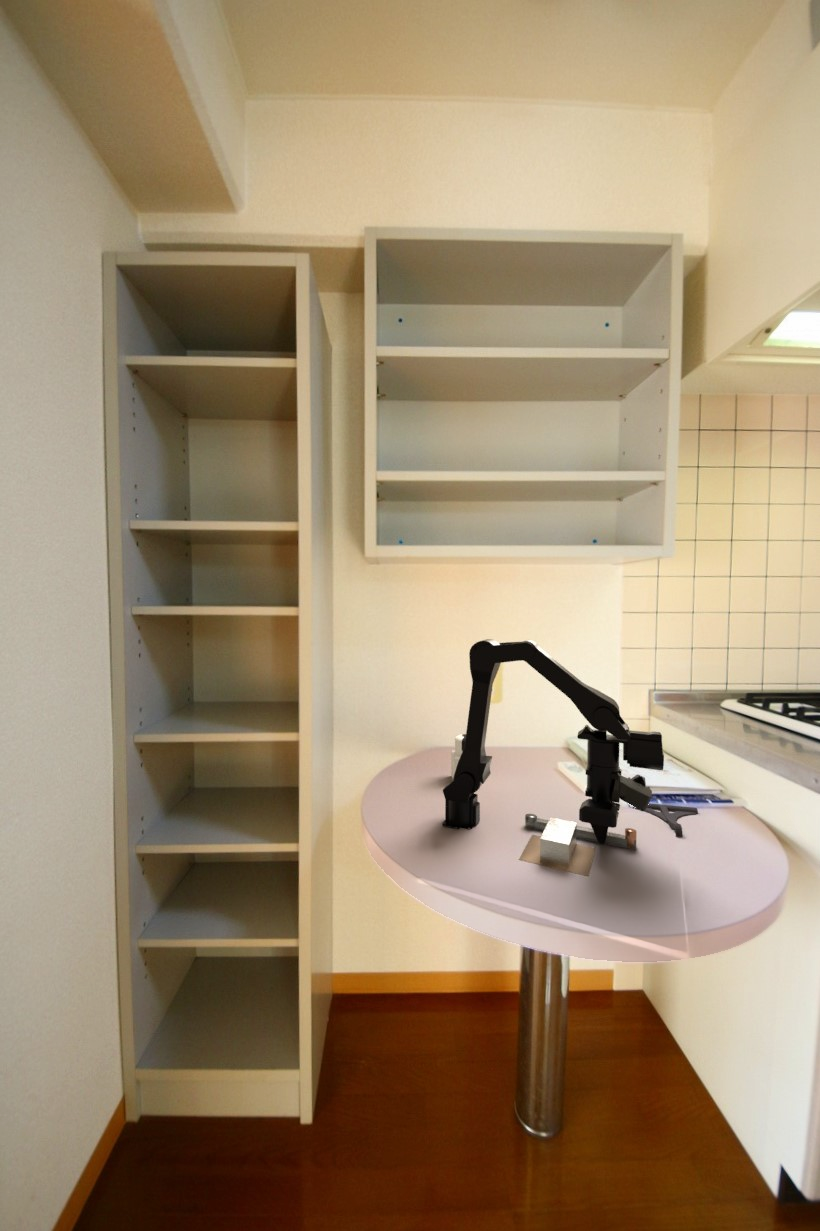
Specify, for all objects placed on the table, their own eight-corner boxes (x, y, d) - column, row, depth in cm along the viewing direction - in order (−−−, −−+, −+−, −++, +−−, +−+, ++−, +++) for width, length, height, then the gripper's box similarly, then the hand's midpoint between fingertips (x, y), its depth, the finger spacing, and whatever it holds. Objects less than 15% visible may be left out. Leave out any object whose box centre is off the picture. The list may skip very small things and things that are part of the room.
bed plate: (518, 862, 89) (518, 859, 89) (532, 837, 99) (532, 834, 99) (588, 879, 84) (588, 876, 84) (595, 851, 94) (595, 847, 94)
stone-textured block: (539, 860, 89) (540, 838, 89) (550, 837, 98) (550, 817, 98) (568, 867, 87) (568, 844, 87) (576, 842, 96) (576, 822, 96)
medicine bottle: (476, 775, 135) (477, 732, 135) (481, 785, 128) (482, 739, 127) (451, 775, 135) (451, 732, 134) (454, 785, 127) (454, 739, 127)
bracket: (640, 835, 102) (640, 822, 102) (627, 806, 116) (628, 795, 116) (718, 845, 98) (719, 831, 98) (695, 814, 112) (695, 802, 112)
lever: (523, 829, 102) (524, 812, 102) (526, 824, 104) (526, 808, 104) (635, 853, 93) (636, 834, 92) (636, 847, 95) (636, 829, 95)
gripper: (648, 786, 82) (647, 877, 83) (650, 755, 99) (648, 832, 99) (579, 775, 87) (578, 861, 88) (591, 748, 104) (590, 821, 104)
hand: (601, 843), depth 95 cm, fingers closed
